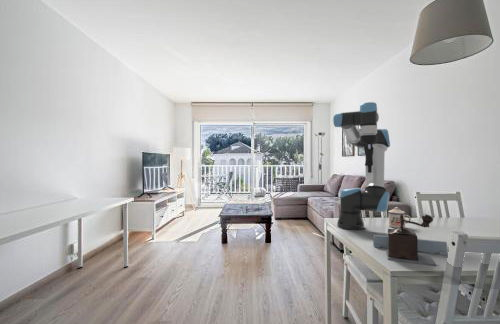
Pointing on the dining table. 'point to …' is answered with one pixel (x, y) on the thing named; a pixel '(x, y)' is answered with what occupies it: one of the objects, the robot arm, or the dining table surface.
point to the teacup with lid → (396, 218)
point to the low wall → (422, 244)
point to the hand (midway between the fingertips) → (369, 178)
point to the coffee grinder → (405, 240)
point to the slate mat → (422, 259)
